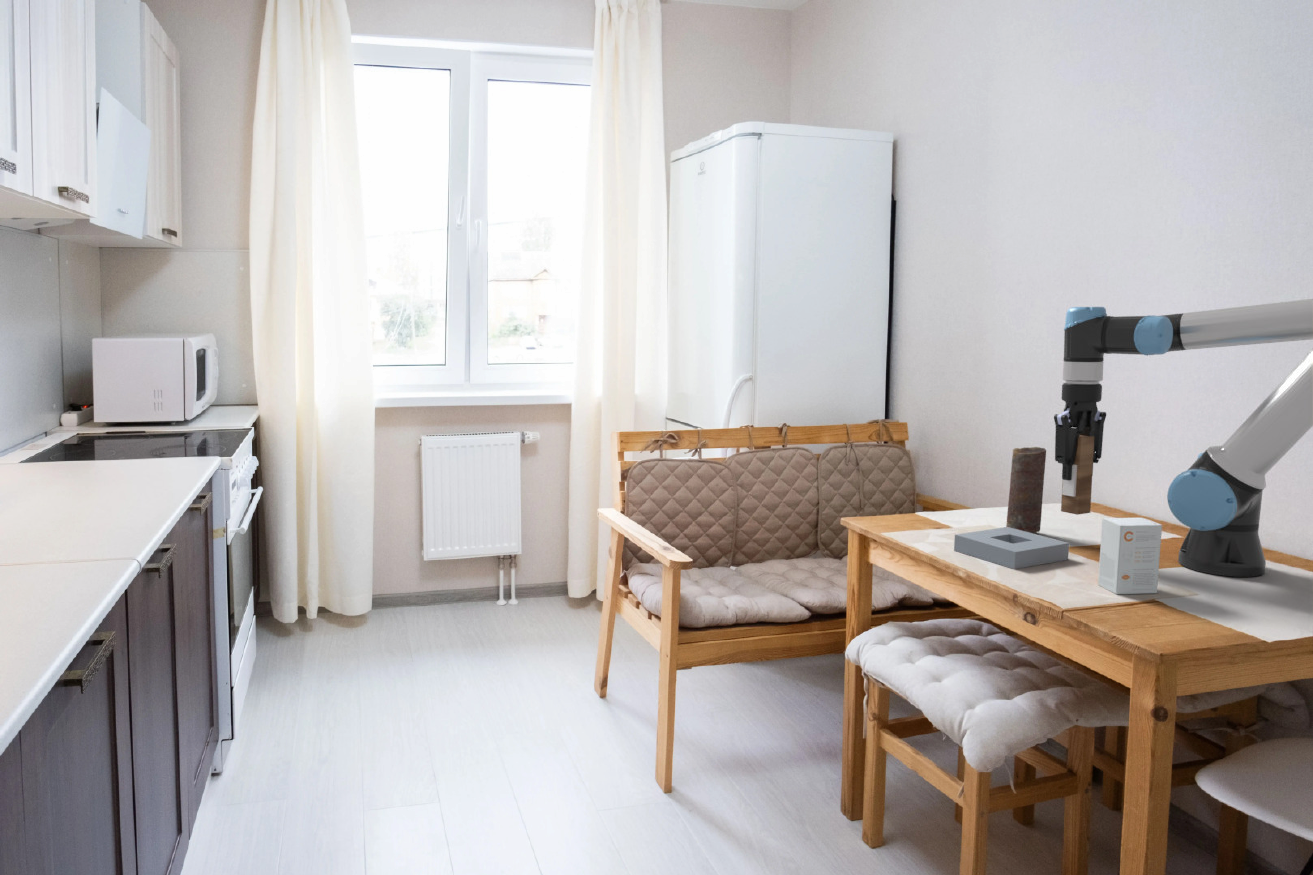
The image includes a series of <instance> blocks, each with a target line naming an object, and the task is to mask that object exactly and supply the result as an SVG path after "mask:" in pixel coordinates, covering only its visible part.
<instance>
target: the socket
mask: <svg viewBox="0 0 1313 875" xmlns="http://www.w3.org/2000/svg"><path fill="white" fill-rule="evenodd" d="M953 542H954V544H953V551H954V552H958V553H960V552H961V554H964V555H968V556H971V557H974V558H976V559H979V560H980V559H981V560H984V561H986V562H989V563H990V562H991V563H993V564H997V565H1000V566H1003V567H1006V568H1010V569H1013V570H1017V569H1022V568H1023V569H1024V568H1028V567H1033V566H1034V567H1035V566H1039V565H1044V564H1045V565H1046V564H1050V563H1056V562H1062V561H1067V560H1069V553H1070V550H1069V549H1070V542H1066V541H1063V540H1059V539H1055V538H1051V537H1049V536H1044V535H1041V534H1036V533H1029V532H1025V531H1021V530H1018V529H1014V528H1010V527H1006V526H1005V527H1004V526H1003V527H997V528H991V529H983V530H977V531H971V532H964V533H957V534H954V541H953Z"/></svg>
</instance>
